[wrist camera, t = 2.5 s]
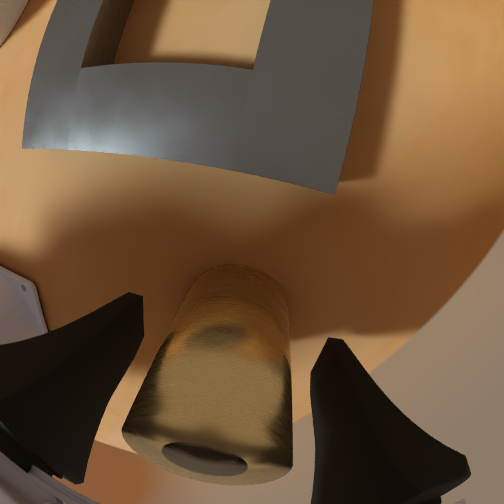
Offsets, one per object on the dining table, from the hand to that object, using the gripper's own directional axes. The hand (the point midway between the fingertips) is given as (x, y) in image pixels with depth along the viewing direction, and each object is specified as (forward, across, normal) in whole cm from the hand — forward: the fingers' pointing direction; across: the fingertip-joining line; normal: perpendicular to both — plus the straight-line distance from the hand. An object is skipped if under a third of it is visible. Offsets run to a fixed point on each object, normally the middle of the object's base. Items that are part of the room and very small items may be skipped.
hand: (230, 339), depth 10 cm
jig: (+2, +4, -12) cm, 13 cm away
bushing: (+2, 0, 0) cm, 2 cm away
